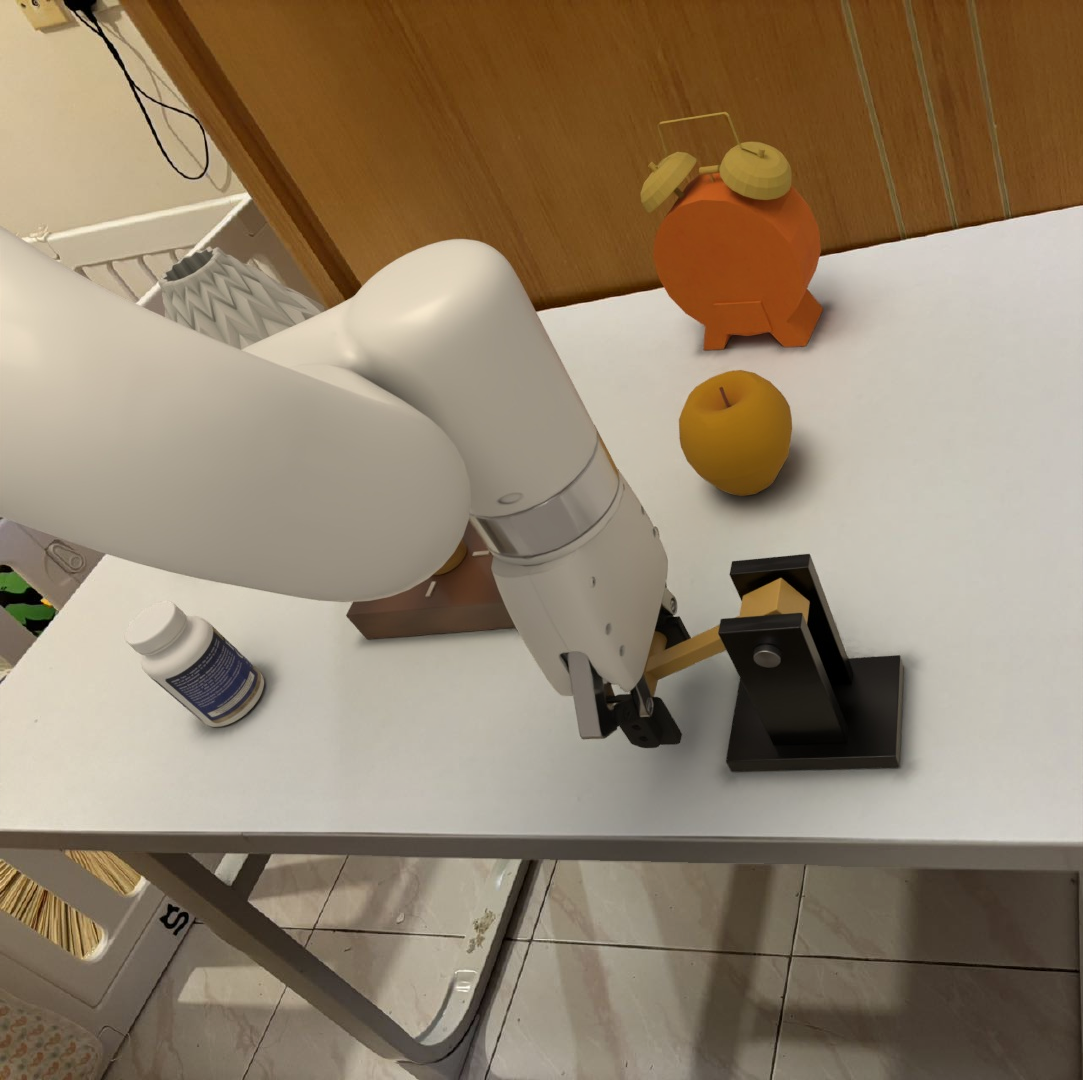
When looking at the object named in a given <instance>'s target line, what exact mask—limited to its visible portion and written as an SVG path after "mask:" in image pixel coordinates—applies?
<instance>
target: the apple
mask: <svg viewBox="0 0 1083 1080" xmlns="http://www.w3.org/2000/svg"><path fill="white" fill-rule="evenodd" d="M678 431H679V433H678V435H679V437H678V438H679V445H680V448H681V451H682V453H683V455H684V457H685V459H686V462H687V463H688V464H689V465H690V466H691V468H692V469H693V470H694V471H695V472H696V474H698V475H699V476H700V477H701V478H703V479H704V480H705V481H706V482H707V483H709V484H710V485H712V486H713V487H715V488H717V489H719V490H721V491H723V492H725V493H728V494H731V495H734V496H739V497H745V496H751V495H756V494H758V493H760V492H762V491H763V490H766V489H767V488H768V487H770V486H771V485H772V484H773V483H774V482H775V480H776V478H777V476H778V475H779V473H780V471H781V469H782V468H783V465H784V464H785V462H786V460H787V459H788V457H789V453H790V447H791V442H792V441H791V440H792V434H793V417H792V411H791V406H790V404H789V402H788V401H787V399H786V397H785V396H784V394H783V393H782V392H781V391H780V389H778V388H777V387H776V386H775V384H773V383H772V382H771V381H770V380H768V379H766V378H765V377H762V376H761V375H759V374H758V373H756V372H753V371H749V370H748V371H747V370H743V369H739V370H738V369H736V370H729V371H725V372H723V373H720V374H717V375H714V376H712V377H709V378H708V379H706V380H705V381H703V382H701V383H700V384H698V385H696V386H695V387H694V388H693V389H692V390H691V392H690V393H689V394H688V396H687V399H686V401H685V403H684V405H683V407H682V409H681V412H680V415H679V418H678Z"/></svg>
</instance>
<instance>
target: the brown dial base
mask: <svg viewBox="0 0 1083 1080" xmlns="http://www.w3.org/2000/svg"><path fill="white" fill-rule="evenodd" d="M462 540H463V542H464V543H465V544H466V547H467V552H466V555H465V557H464V559H463V560H462V562H461V563H460V564H459V565H458V566H457V567H455V568H454V569H452V570H451V571H449V572H447V573H444V574H441V575H432V576H431V577H429V578H428V579H427V580H425V581H423V582H421V583H420V584H418V585H416V586H415V587H413V588H411V589H409V590H407V591H404V592H401V593H399V594H396V595H393V596H391V597H386V598H381V599H376V600H371V601H358V602H351V605H350V606H349V608H348V611H347V612H346V615H345V617H346V618H347V619H348V620H349V621H350V623H351V624H352V625H353V626H354V627H355V628H356V629H357V630H358V631H359V633H360V634H361V635H362V636H363V637H364V639H366V640H376V639H389V638H401V637H402V638H403V637H413V636H414V637H415V636H427V635H437V634H438V635H439V634H440V635H441V634H450V633H451V634H452V633H462V632H463V633H464V632H475V631H477V632H478V631H487V630H489V631H490V630H501V629H513V628H515V629H516V627H515V625H514V623H513V621H512V619H511V617H510V615H509V613H508V611H507V608H506V606H505V604H504V602H503V599H502V597H501V594H500V592H499V590H498V587H497V584H496V581H495V578H494V575H493V572H492V569H491V566H492V561H493V557H494V556H493V555H492V553H491V552H490V551H489V550H488V548H487V547H486V545H485V544H484V542H483V541H482V539H481V538H480V536H479V535H478V533H477V532H476V530H475V529H474V527H473V526H472V525H471V523H470V522H469V520H468V523H467V526H466V529H465V532H464V535H463V537H462Z"/></svg>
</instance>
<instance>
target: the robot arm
mask: <svg viewBox="0 0 1083 1080" xmlns="http://www.w3.org/2000/svg"><path fill="white" fill-rule="evenodd" d="M0 518H2V519H5V520H7V521H10V522H13V523H16V524H19V525H22V526H25V527H27V528H30V529H33V530H35V531H38V532H42V533H45V534H46V535H50V536H53V537H55V538H58V539H60V540H64V541H66V542H69V543H72V544H75V545H79V546H81V547H83V548H87V549H89V550H93V551H96V552H98V553H102V554H105V555H108V556H112V557H115V558H118V559H122V560H125V561H129V562H132V563H135V564H139V565H142V566H146V567H150V568H154V569H156V570H157V569H158V570H161V571H165V572H168V573H173V574H178V575H182V576H186V577H190V578H195V579H198V580H199V579H200V580H205V581H208V582H209V581H210V582H215V583H221V584H225V585H230V586H231V585H232V586H234V587H235V586H236V587H241V588H246V589H252V590H257V591H261V592H267V593H274V594H279V595H284V596H289V597H296V598H300V599H305V600H306V599H307V600H311V601H312V600H314V601H322V602H332V603H333V602H334V603H353V602H358V601H371V600H376V599H381V598H386V597H391V596H393V595H396V594H399V593H401V592H404V591H407V590H409V589H411V588H413V587H415V586H416V585H418V584H420V583H421V582H423V581H425V580H427V579H428V578H429V577H431V576H432V575H433V574H434V573H435V572H436V571H438V570H439V569H440V568H441V567H442V566H443V565H444V564H445V563H446V562H447V560H448V559H449V558H450V557H451V556H452V554H453V553H454V552H455V550H456V548H457V547H458V545H459V543H460V541H461V539H462V537H463V535H464V532H465V529H466V526H467V523H468V520H469V522H470V523H471V525H472V526H473V527H474V529H475V530H476V532H477V533H478V535H479V536H480V538H481V539H482V541H483V542H484V544H485V545H486V547H487V548H488V550H489V551H490V552H491V553H492V555H493V556H494V557H493V561H492V566H491V569H492V572H493V575H494V578H495V581H496V584H497V587H498V590H499V592H500V594H501V597H502V599H503V602H504V604H505V606H506V608H507V611H508V613H509V615H510V617H511V619H512V621H513V623H514V625H515V629H516V630H517V633H518V634H519V636H520V637H521V639H522V641H523V643H524V645H525V646H526V648H527V650H528V651H529V653H530V655H531V656H532V658H533V660H534V661H535V663H536V665H537V666H538V668H539V669H540V671H541V673H542V674H543V675H544V677H545V678H546V680H547V681H548V683H549V684H550V685H551V687H552V688H553V689H554V691H555V692H556V693H557V694H558V695H560V696H561V697H573V702H574V708H575V716H576V722H577V728H578V733H579V737H580V739H581V740H583V741H584V740H605V739H607V738H609V736H611V735H612V734H613V733H614V732H616V731H617V730H618V728H620V729H621V731H622V733H623V734H624V735H625V737H626V738H627V740H628V741H629V743H630V744H631V745H633V746H636V747H639V748H641V749H657V748H659V747H660V746H673V745H680V744H681V743H682V737H683V733H682V730H681V728H680V727H679V725H678V724H677V722H676V720H675V719H674V717H673V715H672V713H671V712H670V711H669V709H668V707H667V706H666V704H665V702H664V700H663V699H662V698H661V697H659V696H654V697H652V695H651V692H650V690H649V687H648V684H647V681H646V678H645V675H644V673H643V671H644V668H645V665H646V661H647V658H648V654H649V650H650V646H651V642H652V639H653V635H654V631H657V632H660V633H662V634H664V635H665V636H666V638H667V644H666V648H665V650H666V649H668V648H671V647H673V646H675V645H677V644H679V643H681V642H684V641H686V640H688V639H690V638H692V637H691V635H690V633H689V631H688V630H687V627H686V625H685V624H684V622H683V620H682V618H681V617H680V616H679V615H678V616H675V615H677V612H678V601H677V598H676V596H675V594H673V593H672V592H671V591H670V590H669V588H668V584H667V580H668V571H669V559H668V555H667V552H666V550H665V547H664V544H663V542H662V540H661V538H660V531H659V528H658V527H657V526H656V525H654V524H653V522H652V520H651V518H650V516H649V515H648V513H647V511H646V509H645V508H644V505H643V504H642V503H641V500H640V499H639V498H638V496H637V494H636V493H635V491H634V490H633V488H632V487H631V485H630V484H629V482H628V481H627V480H626V478H625V477H624V474H622V472H621V471H620V470H619V469H618V467H617V466H616V464H615V462H614V459H613V457H612V455H611V454H610V452H609V449H608V447H607V446H606V444H605V442H604V441H603V438H602V436H601V434H600V432H599V431H598V429H597V426H596V425H595V424H594V421H593V419H592V417H591V416H590V414H589V412H588V410H587V408H586V406H585V404H584V402H583V400H582V398H581V396H580V394H579V392H578V391H577V388H576V386H575V384H574V382H573V381H572V378H571V377H570V375H569V372H568V371H567V369H566V367H565V365H564V363H563V361H562V359H561V356H559V353H558V351H557V350H556V348H555V346H554V344H553V341H552V340H551V338H550V336H549V334H548V332H547V330H546V328H545V326H544V324H543V322H542V321H541V318H540V316H539V315H538V312H537V310H536V309H535V307H534V305H533V302H532V301H531V299H530V297H529V295H528V293H527V291H526V290H525V287H524V285H523V284H522V282H521V280H520V277H519V276H518V275H517V273H516V271H515V269H514V267H513V266H512V264H511V263H510V261H508V259H507V258H506V257H505V256H504V255H503V254H502V253H501V252H500V251H498V250H497V249H496V248H494V247H493V246H491V244H490V245H489V244H488V243H486V242H483V241H480V240H475V239H469V238H467V239H466V238H452V239H447V240H440V241H437V242H434V243H430V244H427V245H424V246H422V247H419V248H417V249H414V250H413V251H409V252H407V253H406V254H404V255H402V256H401V257H398V258H396V259H395V260H393V261H391V262H390V263H389V264H387V265H385V266H384V267H382V268H381V269H380V270H379V271H377V272H376V273H374V275H372V276H371V277H370V278H369V279H368V280H366V281H365V283H364V284H363V285H362V286H361V287H360V289H359V290H358V291H357V292H356V293H355V295H353V296H351V297H350V298H348V299H347V300H344V301H342V302H341V303H339V304H337V305H335V306H333V307H331V308H329V309H327V310H325V311H324V312H322V313H320V314H318V315H316V316H314V317H312V318H310V319H307V320H305V321H303V322H301V323H299V324H297V325H294V326H292V327H290V328H288V329H285V330H283V331H281V332H279V333H276V334H274V335H272V336H270V337H267V338H265V339H263V340H261V341H259V342H256V343H254V344H252V345H250V346H248V347H246V348H244V349H242V350H240V349H238V348H235V347H233V346H230V345H228V344H225V343H223V342H221V341H218V340H216V339H214V338H211V337H209V336H207V335H204V334H202V333H200V332H197V331H195V330H193V329H190V328H188V327H186V326H183V325H181V324H179V323H177V322H175V321H172V320H170V319H168V318H166V317H165V315H164V316H163V315H161V314H159V313H157V312H155V311H152V310H150V309H148V308H146V307H144V306H142V305H140V304H139V303H136V302H134V301H132V300H130V299H127V298H126V297H124V296H122V295H120V294H118V293H116V292H114V291H112V290H110V289H109V288H106V287H104V286H102V285H100V284H99V283H97V282H95V281H93V280H91V279H89V278H87V277H86V276H83V275H82V274H80V273H79V272H77V271H75V270H73V269H72V268H70V267H68V266H67V265H65V264H63V263H61V262H60V261H58V260H56V259H55V258H53V257H51V256H50V255H49V254H47V253H45V252H43V251H41V250H40V249H39V248H37V247H36V246H34V245H33V244H31V243H29V242H27V241H26V240H24V239H23V238H21V237H19V236H18V235H17V234H15V233H14V232H12V231H10V230H8V229H6V228H5V227H3V226H1V225H0ZM614 685H618V686H619V688H620V689H621V690H622V691H623V692H625V693H623V694H621V693H619V694H615V691H614V689H613V686H614ZM629 692H631V694H629Z"/></svg>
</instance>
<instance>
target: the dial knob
mask: <svg viewBox="0 0 1083 1080" xmlns="http://www.w3.org/2000/svg"><path fill="white" fill-rule="evenodd" d="M466 552H467V547H466V544H465V543H464V542H463V540H462V539H461V541H460V543H459V545H458V547H457V548H456V550H455V552H454V553H453V554H452V556H451V557H450V558H449V559H448V560H447V562H446V563H445V564H444V565H443V566H442V567H441V568H440V569H439V570H438V571H436V572H435V573H434V574H433V575H441V574H444V573H447V572H449V571H451V570H452V569H454V568H455V567H457V566H458V565H459V564H460V563H461V562H462V560H463V559H464V557H465V555H466Z"/></svg>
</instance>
